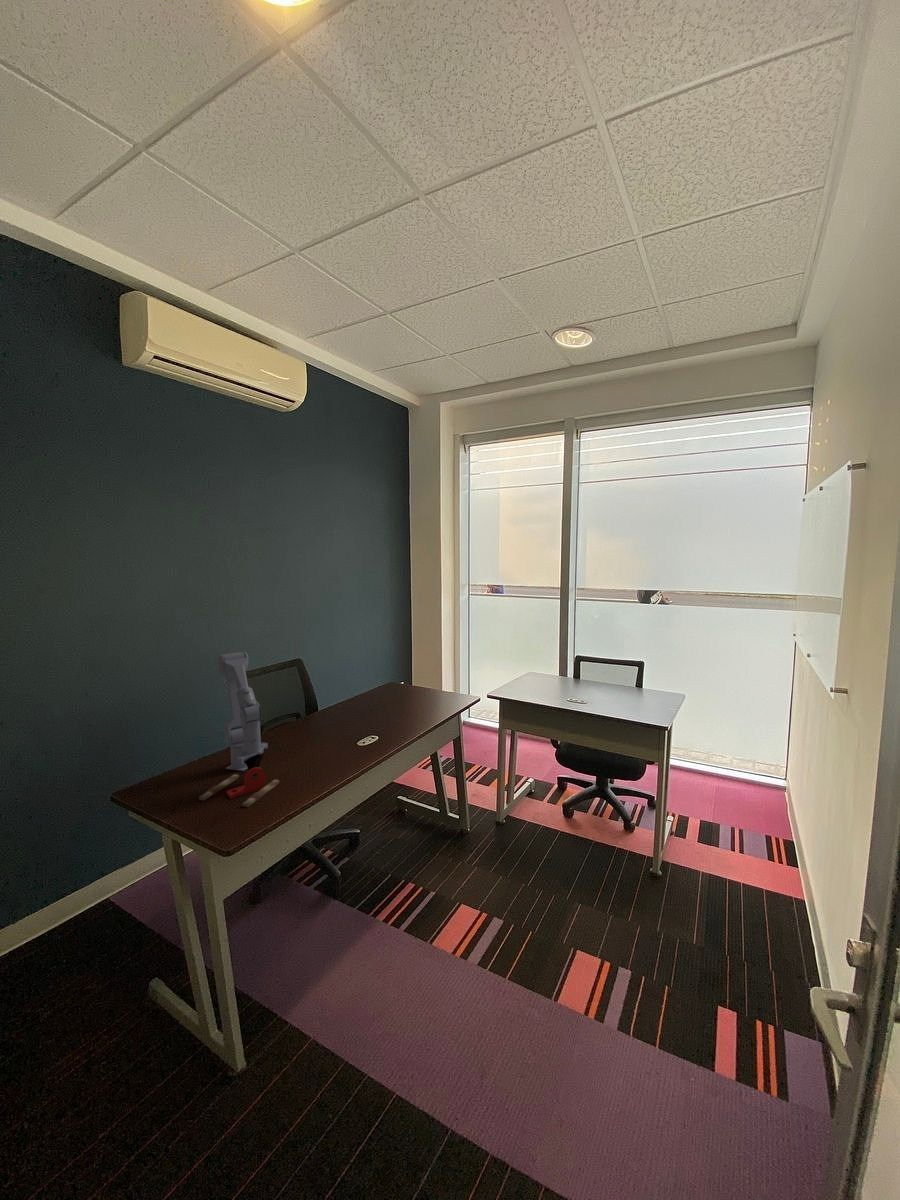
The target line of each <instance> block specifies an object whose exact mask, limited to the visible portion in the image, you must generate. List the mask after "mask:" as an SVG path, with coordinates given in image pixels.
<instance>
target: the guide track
mask: <svg viewBox="0 0 900 1200" xmlns="http://www.w3.org/2000/svg"><path fill="white" fill-rule="evenodd" d="M239 778H240V775H239V774H235V773H234V774H232V775H231V776H229V777H228V778H226V779H225V780H223V781H221V782H220V783H218V784H217V785H215V786H212V787H210V788H209V789H207V791H206V792H204V793H203V794H201V795H199V796H198V799H199V801H206V800H207V799H208V798H210V797H212V796H213V795H215V794H217V793H218V792H220V791H221V790H223V789H224V788H225V787H227V786H228V785H230V784H232V783H233V782H234V781H235V780H237V779H239ZM278 784H280V779H273V780H272V781H271V782H269V783H268V784H266V786H265V787H264V788H261V789H259V791H258V790H257V792H254V793H253V794H251V795H250V796H249V798H247V799H246V800H245V801H244V802H243V803H241V804H242V807H243V808H249V807H250V806H251V805H253V804H254V803H255V802H257V801H258V800H260V798H262V797H263V796H264V795H266V794H267V793H268V792H269V791H271V790H272V789H273V788H275V787H276V786H277V785H278Z"/></svg>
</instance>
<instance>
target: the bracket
mask: <svg viewBox="0 0 900 1200" xmlns="http://www.w3.org/2000/svg"><path fill="white" fill-rule="evenodd" d="M254 774H257V775H258V776H257V779H256V780H252V778H253V777H254V776H253V775H254ZM243 780H244V784H243V785H240V786H236V787H233V788H230V789H227V790H226V796H227V797H228V798H229V799H233V798H237V797H239V796H242V795H246V794H249V793H251V792H254V791H258V790H261V789H262V788H264V787H265V786H266V785H267V782H266V773H265V770H264V769H263V768H262V767H260V766H259V767H254V768H252V769H250V770H248V771H246V773H245V775H244V778H243Z"/></svg>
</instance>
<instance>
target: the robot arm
mask: <svg viewBox="0 0 900 1200" xmlns="http://www.w3.org/2000/svg"><path fill="white" fill-rule="evenodd" d="M217 661H218V662H217V663H218V669H219V670H218V671H219V674H220V677H223V678H225V680H226V686H227V694H228V702H229V709H230V716H231V719H230V720H229V721H228V723H226V724H225V726H224V740H225V744H226V745H227V746H228V747H230V748H229V749H230V763H231V764H230V765H228V766H227V767H225V769H226V770H233V771H239V772H240V771H241V772H245V771H246V770H248V771H249V770H250V769H252V768H254V767H259V768H260V765H261V762H262V760H263V758H264V750H265V749H268V746H269V745H268V742H262V740H261V739H262V738H261V737H262V736H261V722H260V721H261V720H262V719H263V711H262V708H261V704H259V701H257V700H256V697H255V693H254V690H253V688H252V687H250V686H249V683H248V677H247V673H246V670H248V666H249V663H250V661H249V655H248V653H247V652H246V651H245V650H243V651H240V652H239V651H237V652H232V653H225V654H222V653H221V654H219V655H218V660H217ZM257 775H258V774H254V775H253V776H252V777H256V776H257Z"/></svg>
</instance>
